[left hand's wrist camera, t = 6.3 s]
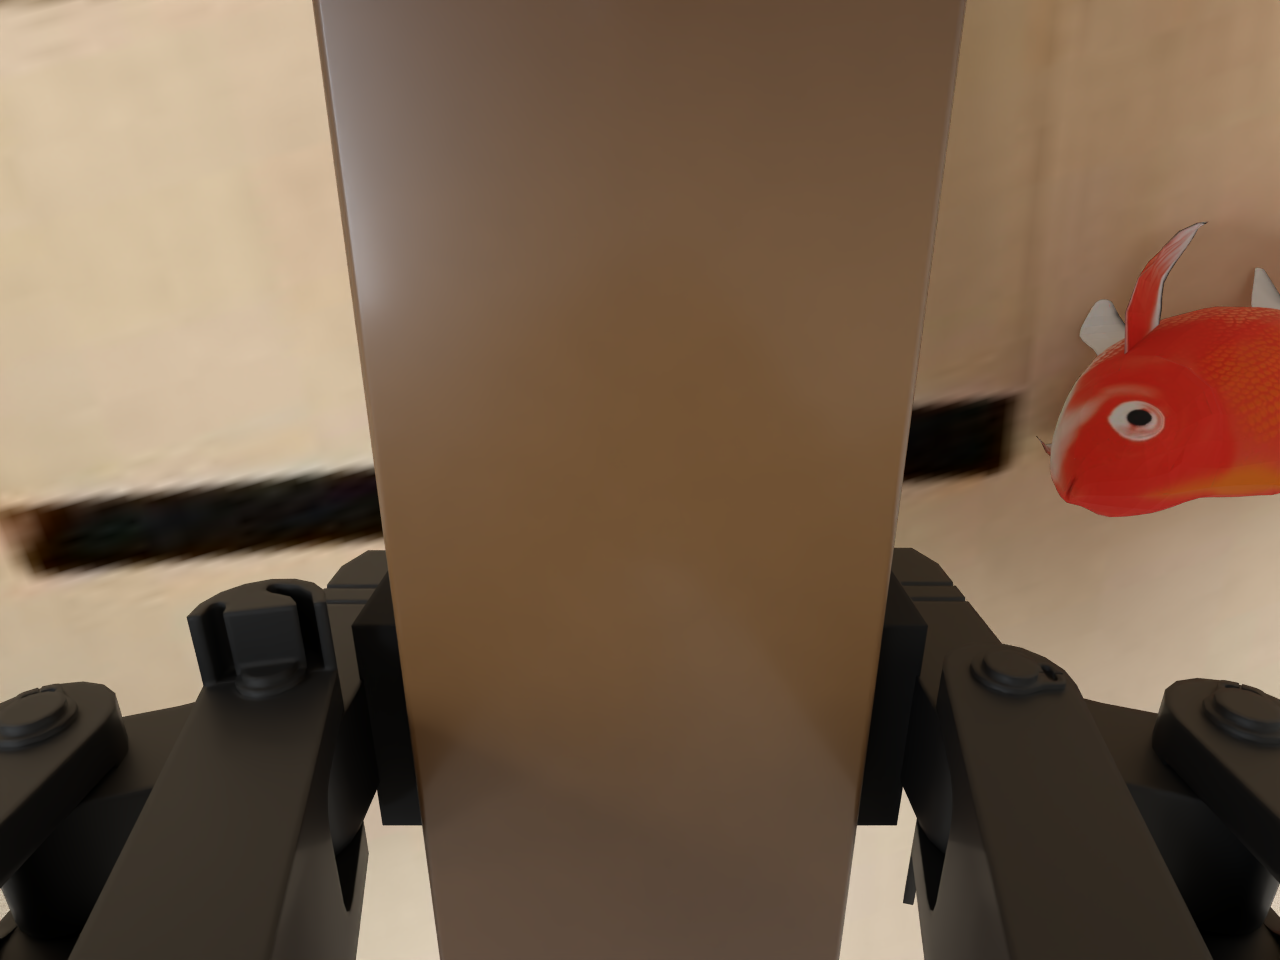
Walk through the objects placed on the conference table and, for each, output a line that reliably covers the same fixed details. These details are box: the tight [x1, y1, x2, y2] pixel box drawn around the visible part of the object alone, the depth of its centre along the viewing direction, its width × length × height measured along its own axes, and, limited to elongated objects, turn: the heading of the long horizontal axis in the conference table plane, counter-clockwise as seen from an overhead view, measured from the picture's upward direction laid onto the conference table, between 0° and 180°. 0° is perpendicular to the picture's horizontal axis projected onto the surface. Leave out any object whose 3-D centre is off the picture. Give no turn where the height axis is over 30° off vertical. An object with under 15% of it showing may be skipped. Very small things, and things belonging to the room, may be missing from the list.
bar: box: [312, 0, 967, 960], centre depth 9 cm, size 24×4×8 cm, turn 0°
